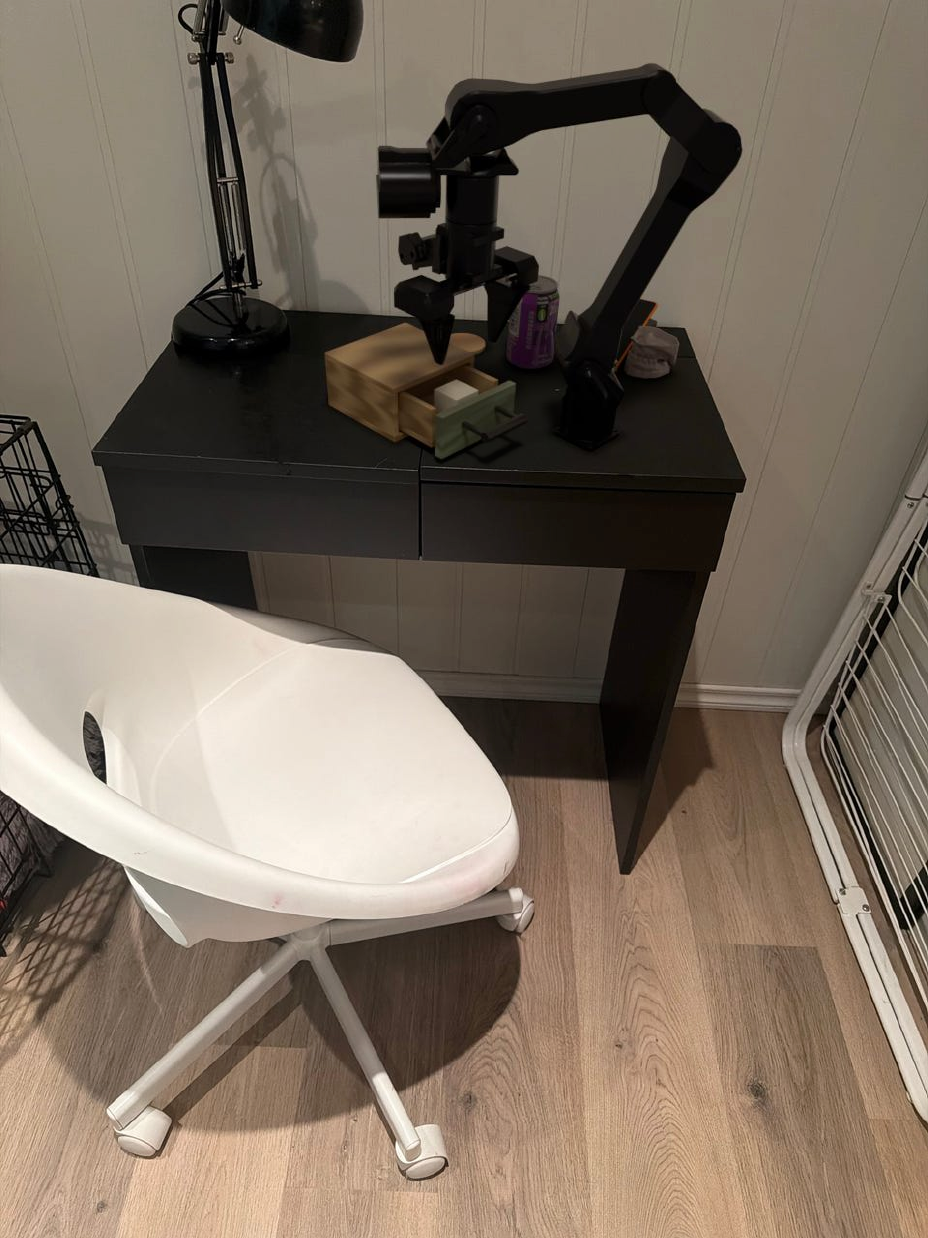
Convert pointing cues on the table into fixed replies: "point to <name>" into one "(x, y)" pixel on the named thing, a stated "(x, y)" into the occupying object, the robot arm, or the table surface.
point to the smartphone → (634, 326)
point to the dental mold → (651, 353)
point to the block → (452, 395)
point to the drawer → (459, 412)
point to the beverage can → (534, 326)
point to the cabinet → (384, 375)
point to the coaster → (468, 342)
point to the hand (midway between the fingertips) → (466, 352)
